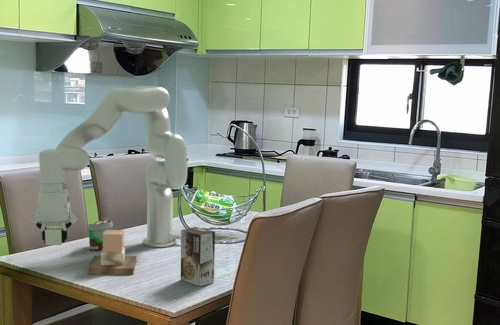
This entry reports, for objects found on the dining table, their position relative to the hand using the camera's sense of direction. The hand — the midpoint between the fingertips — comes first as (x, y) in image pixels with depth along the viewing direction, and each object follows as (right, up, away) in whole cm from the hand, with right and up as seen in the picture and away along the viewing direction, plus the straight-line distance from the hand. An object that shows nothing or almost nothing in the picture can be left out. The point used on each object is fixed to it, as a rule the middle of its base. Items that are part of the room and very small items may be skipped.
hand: (54, 241), depth 199 cm
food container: (+11, -6, +22) cm, 25 cm away
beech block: (+20, -7, -1) cm, 21 cm away
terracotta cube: (+20, -3, -2) cm, 20 cm away
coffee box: (+48, -11, -12) cm, 51 cm away
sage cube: (0, -1, 0) cm, 1 cm away
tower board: (+19, -9, -1) cm, 21 cm away
